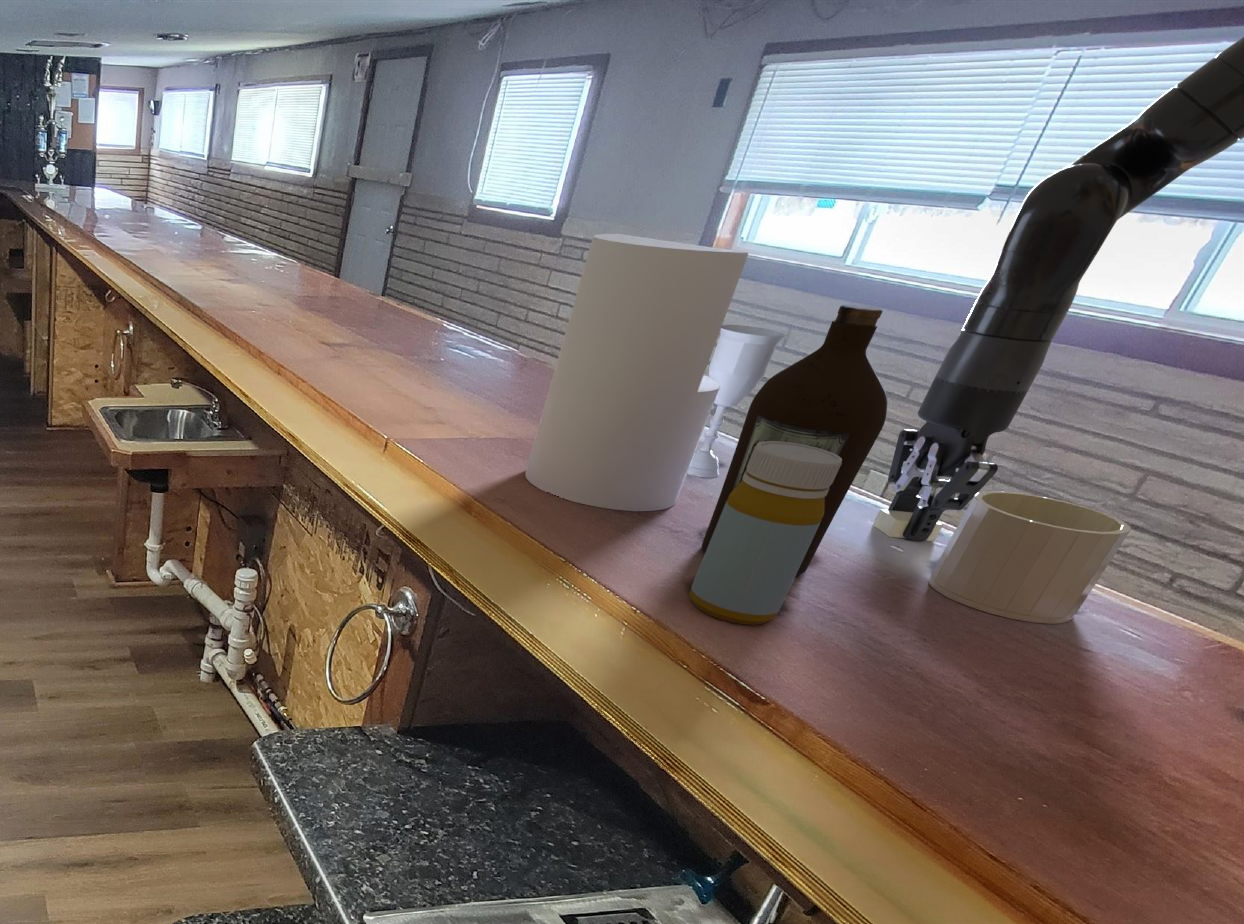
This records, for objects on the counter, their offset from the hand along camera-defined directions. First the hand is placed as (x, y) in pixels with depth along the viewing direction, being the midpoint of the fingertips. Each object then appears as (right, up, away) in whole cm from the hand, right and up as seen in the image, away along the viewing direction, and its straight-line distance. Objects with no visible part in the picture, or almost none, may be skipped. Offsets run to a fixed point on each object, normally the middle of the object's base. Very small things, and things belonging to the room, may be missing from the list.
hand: (903, 531), depth 103 cm
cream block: (0, 0, 0) cm, 0 cm away
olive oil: (-23, -4, -8) cm, 25 cm away
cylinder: (-29, +7, +10) cm, 32 cm away
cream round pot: (-4, -8, -14) cm, 17 cm away
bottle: (-33, -10, -19) cm, 40 cm away
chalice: (-12, +10, +17) cm, 23 cm away
